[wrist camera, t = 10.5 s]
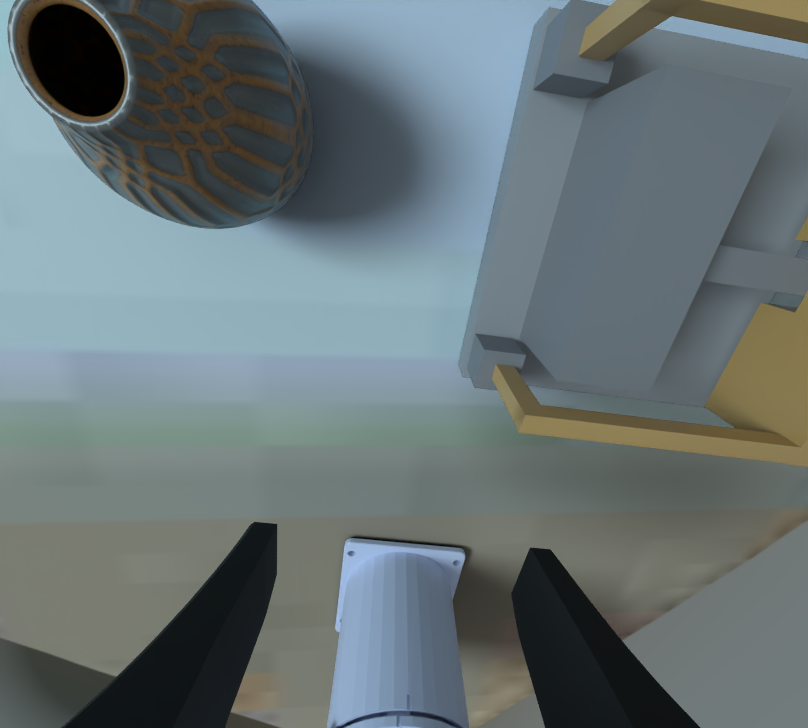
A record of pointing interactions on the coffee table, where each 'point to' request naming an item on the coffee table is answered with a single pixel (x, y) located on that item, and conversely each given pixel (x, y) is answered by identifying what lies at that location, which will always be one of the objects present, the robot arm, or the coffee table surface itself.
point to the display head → (640, 213)
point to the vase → (172, 101)
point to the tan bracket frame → (766, 333)
